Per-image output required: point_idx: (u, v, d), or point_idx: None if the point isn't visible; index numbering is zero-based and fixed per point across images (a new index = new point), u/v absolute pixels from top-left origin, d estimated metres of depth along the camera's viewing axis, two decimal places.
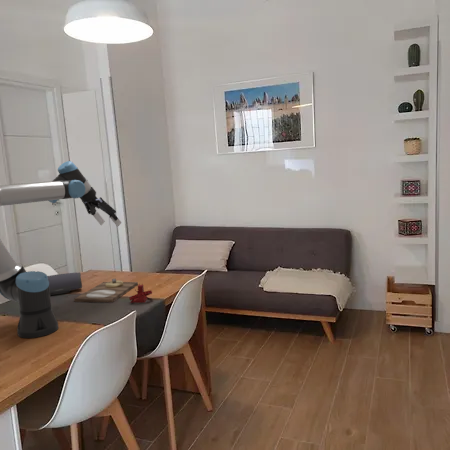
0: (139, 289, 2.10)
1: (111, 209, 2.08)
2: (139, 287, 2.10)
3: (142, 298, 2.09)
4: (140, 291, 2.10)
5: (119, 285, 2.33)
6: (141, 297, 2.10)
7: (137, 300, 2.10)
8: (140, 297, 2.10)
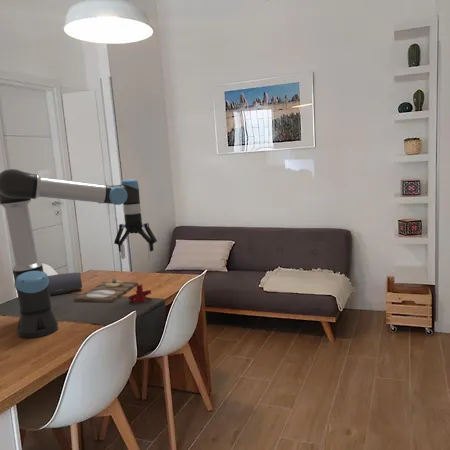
0: (138, 289, 2.10)
1: (154, 237, 2.07)
2: (138, 287, 2.10)
3: (141, 298, 2.10)
4: (139, 291, 2.10)
5: (119, 285, 2.33)
6: (140, 297, 2.10)
7: (136, 300, 2.10)
8: (139, 297, 2.10)
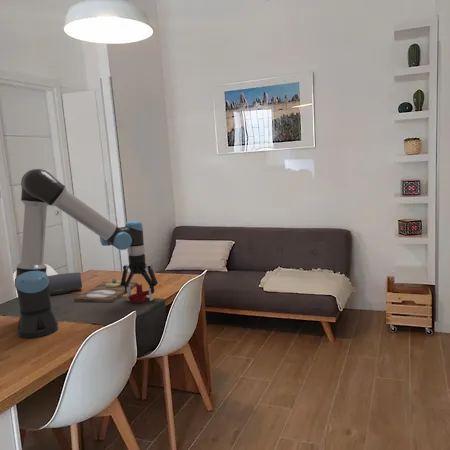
0: (137, 289, 2.10)
1: (155, 280, 2.10)
2: (137, 287, 2.10)
3: (140, 298, 2.10)
4: (138, 291, 2.10)
5: (119, 285, 2.33)
6: (139, 297, 2.10)
7: (135, 300, 2.10)
8: (138, 297, 2.10)
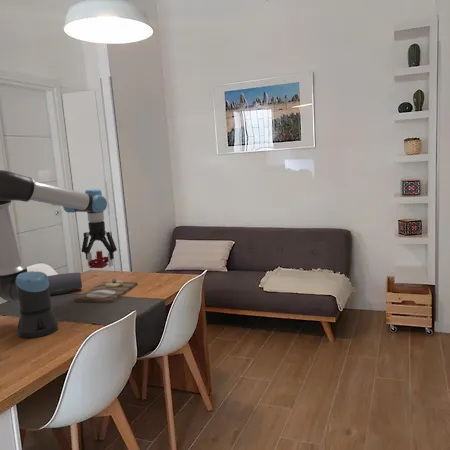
0: (97, 255, 2.17)
1: (114, 246, 2.16)
2: (97, 253, 2.17)
3: (100, 264, 2.17)
4: (98, 257, 2.17)
5: (119, 285, 2.33)
6: (99, 263, 2.17)
7: (95, 265, 2.17)
8: (98, 263, 2.17)
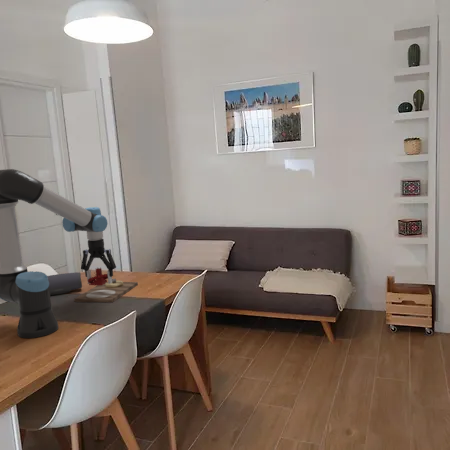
0: (97, 272, 2.19)
1: (114, 263, 2.18)
2: (97, 270, 2.19)
3: (99, 281, 2.19)
4: (98, 274, 2.19)
5: (119, 285, 2.33)
6: (99, 280, 2.19)
7: (95, 283, 2.19)
8: (98, 280, 2.19)
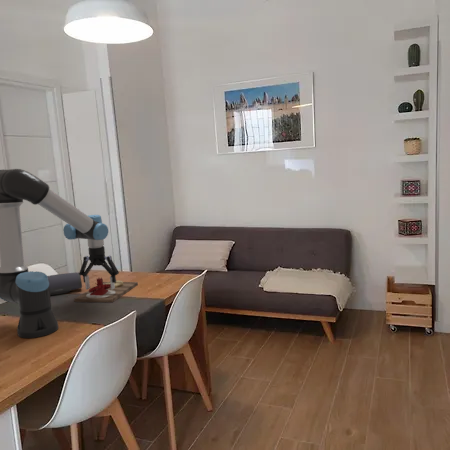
0: (98, 282, 2.19)
1: (116, 269, 2.19)
2: (98, 280, 2.19)
3: (100, 291, 2.19)
4: (99, 284, 2.19)
5: (119, 285, 2.33)
6: (100, 290, 2.19)
7: (96, 293, 2.19)
8: (99, 290, 2.19)
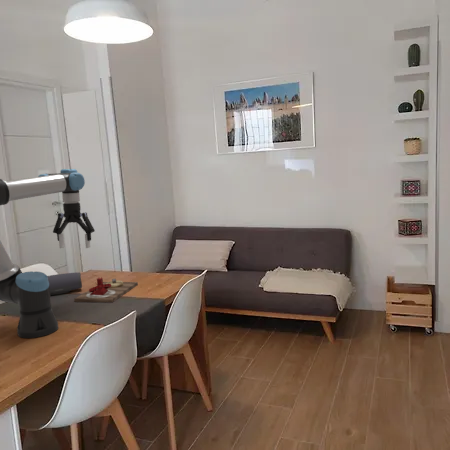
0: (98, 282, 2.20)
1: (91, 227, 2.07)
2: (98, 280, 2.20)
3: (101, 291, 2.19)
4: (99, 284, 2.20)
5: (119, 285, 2.33)
6: (100, 290, 2.20)
7: (96, 292, 2.20)
8: (99, 290, 2.20)
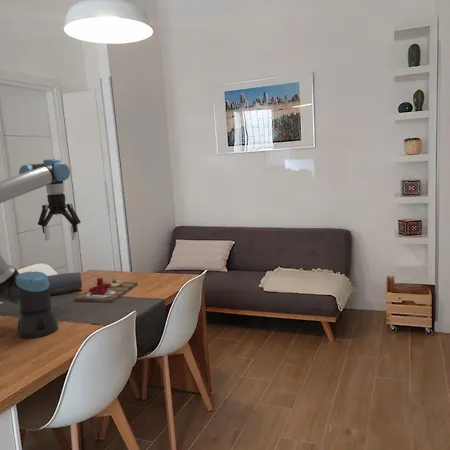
0: (98, 282, 2.20)
1: (77, 218, 2.02)
2: (98, 280, 2.20)
3: (101, 290, 2.20)
4: (99, 284, 2.20)
5: (119, 285, 2.33)
6: (100, 289, 2.20)
7: (96, 292, 2.20)
8: (99, 289, 2.20)
